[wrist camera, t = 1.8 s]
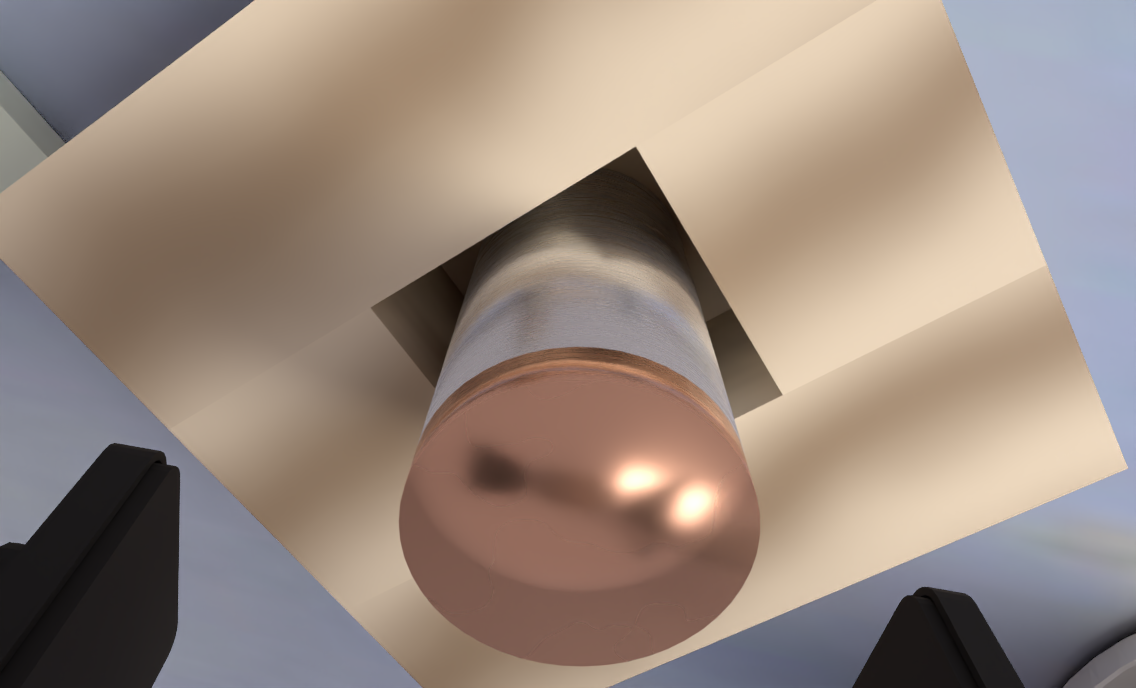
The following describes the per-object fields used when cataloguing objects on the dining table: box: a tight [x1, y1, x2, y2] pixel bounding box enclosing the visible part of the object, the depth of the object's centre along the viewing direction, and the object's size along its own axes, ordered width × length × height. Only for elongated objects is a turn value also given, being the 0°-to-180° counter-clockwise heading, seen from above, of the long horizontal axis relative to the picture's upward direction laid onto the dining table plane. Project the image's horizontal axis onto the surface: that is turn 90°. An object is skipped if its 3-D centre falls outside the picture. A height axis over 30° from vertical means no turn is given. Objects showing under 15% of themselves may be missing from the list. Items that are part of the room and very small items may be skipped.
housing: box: [0, 0, 1128, 688], centre depth 21 cm, size 18×18×6 cm
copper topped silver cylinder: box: [399, 167, 760, 667], centre depth 17 cm, size 5×5×11 cm
